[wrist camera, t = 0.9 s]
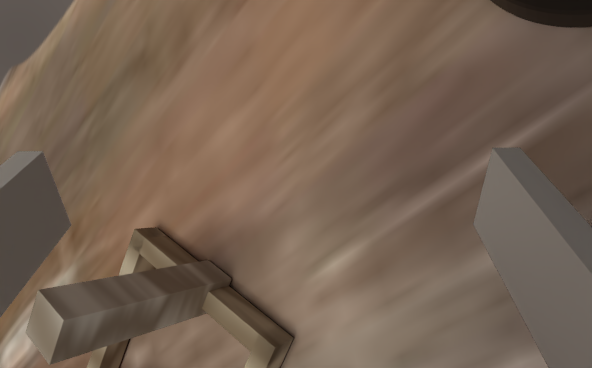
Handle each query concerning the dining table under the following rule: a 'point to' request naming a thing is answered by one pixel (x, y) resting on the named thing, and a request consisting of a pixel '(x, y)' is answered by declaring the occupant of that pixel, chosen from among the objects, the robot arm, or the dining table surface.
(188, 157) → the dining table surface
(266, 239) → the dining table surface
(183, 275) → the open rectangular frame
